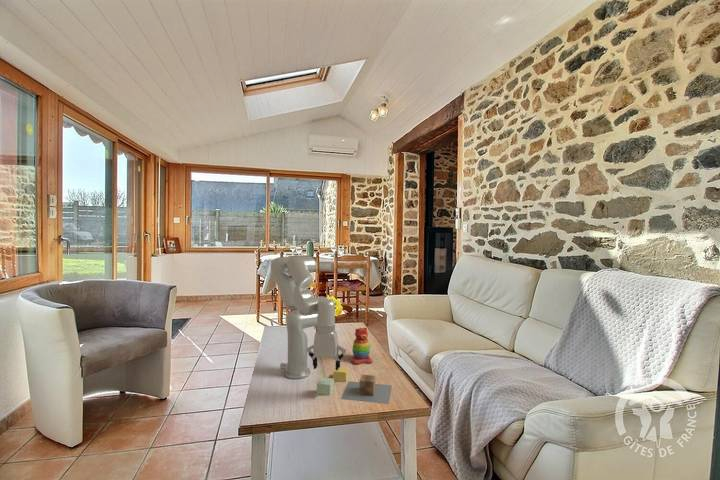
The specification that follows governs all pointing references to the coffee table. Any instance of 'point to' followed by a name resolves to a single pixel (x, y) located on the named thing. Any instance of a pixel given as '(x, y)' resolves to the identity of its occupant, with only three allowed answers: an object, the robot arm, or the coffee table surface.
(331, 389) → the sage-green block
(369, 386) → the walnut base block
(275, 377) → the coffee table surface
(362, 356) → the stacking bear
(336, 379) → the ochre block
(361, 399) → the slate base board
